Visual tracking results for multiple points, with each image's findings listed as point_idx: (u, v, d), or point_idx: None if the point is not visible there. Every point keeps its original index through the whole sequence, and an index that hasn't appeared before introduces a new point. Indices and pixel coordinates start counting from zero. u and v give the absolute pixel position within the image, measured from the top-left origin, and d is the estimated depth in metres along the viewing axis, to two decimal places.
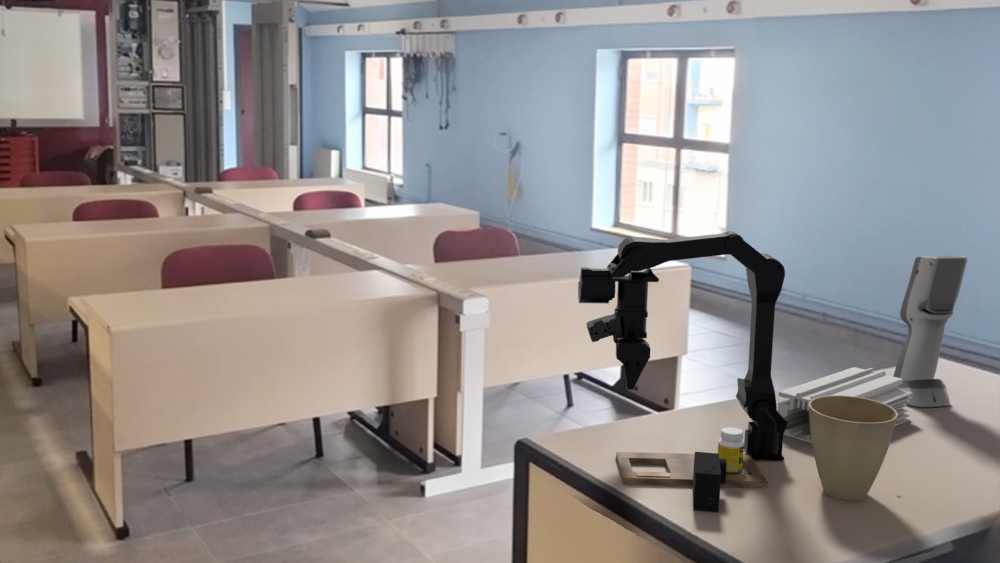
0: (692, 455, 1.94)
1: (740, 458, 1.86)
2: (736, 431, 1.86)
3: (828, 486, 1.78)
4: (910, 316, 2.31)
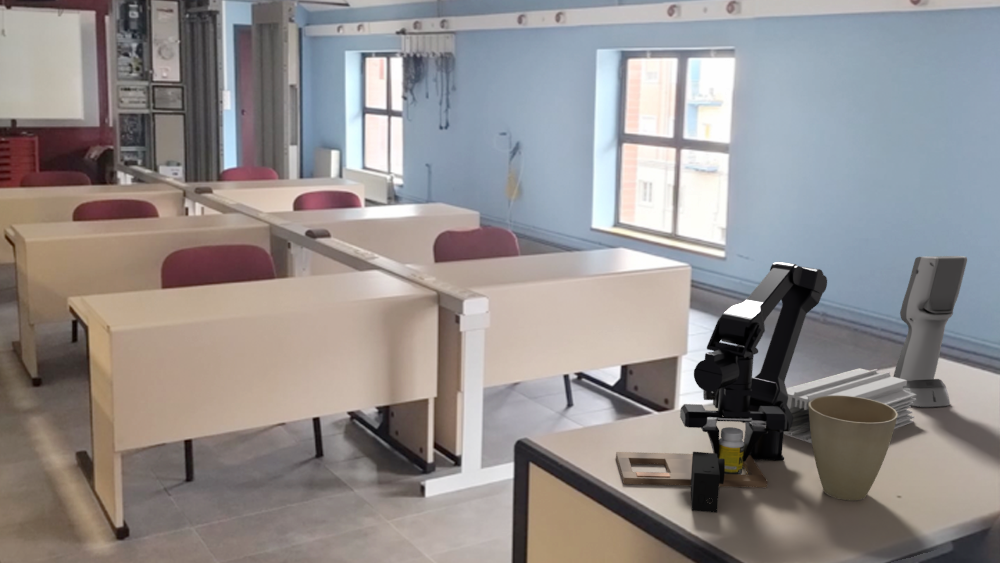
0: (692, 455, 1.94)
1: (740, 458, 1.86)
2: (736, 431, 1.86)
3: (828, 486, 1.78)
4: (910, 316, 2.31)
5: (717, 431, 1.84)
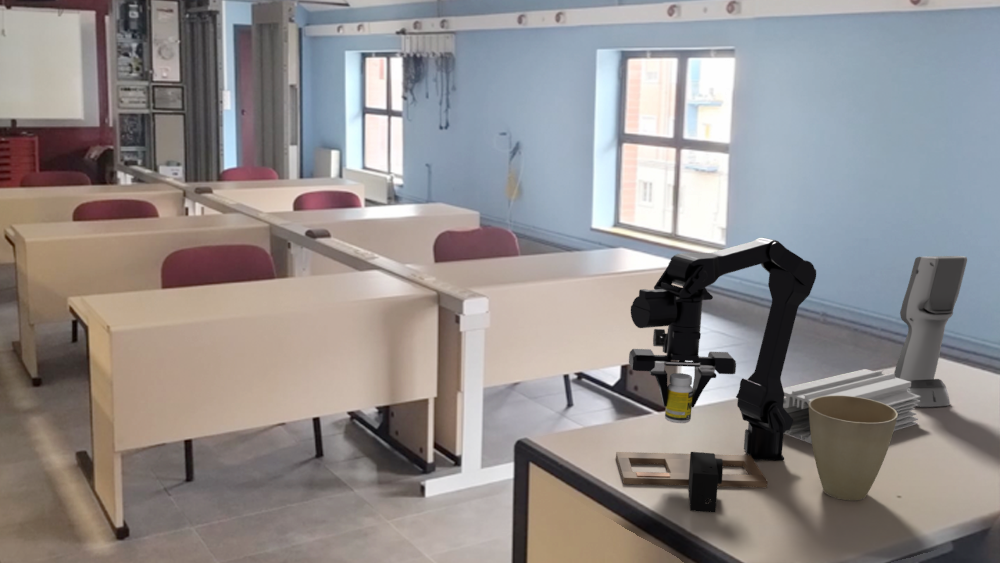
0: None
1: (688, 404, 1.83)
2: (684, 376, 1.84)
3: (828, 486, 1.78)
4: (910, 316, 2.31)
5: (665, 375, 1.81)
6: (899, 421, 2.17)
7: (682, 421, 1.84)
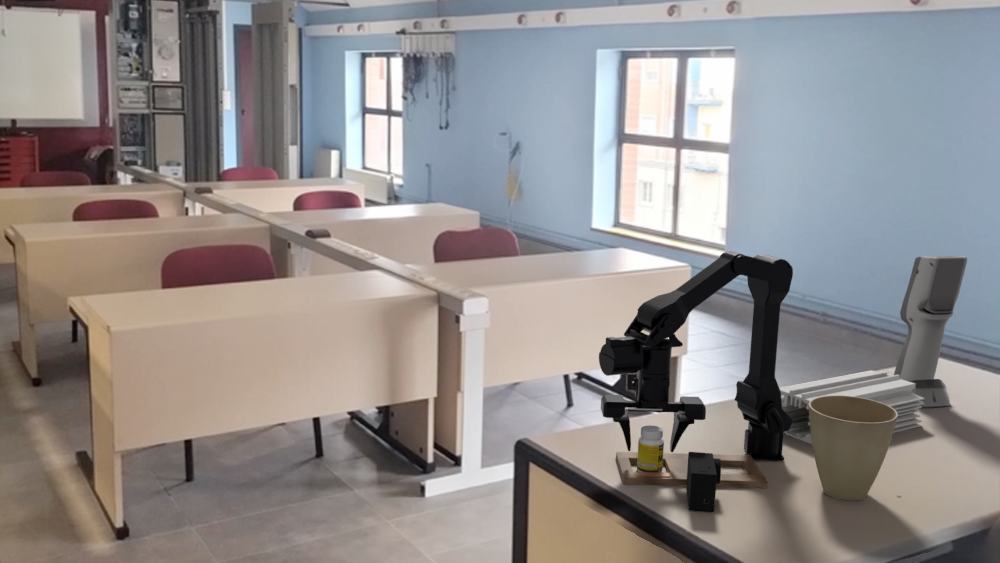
0: None
1: (659, 457, 1.86)
2: (655, 429, 1.86)
3: (828, 486, 1.78)
4: (910, 316, 2.31)
5: (627, 421, 1.83)
6: (902, 423, 2.16)
7: None
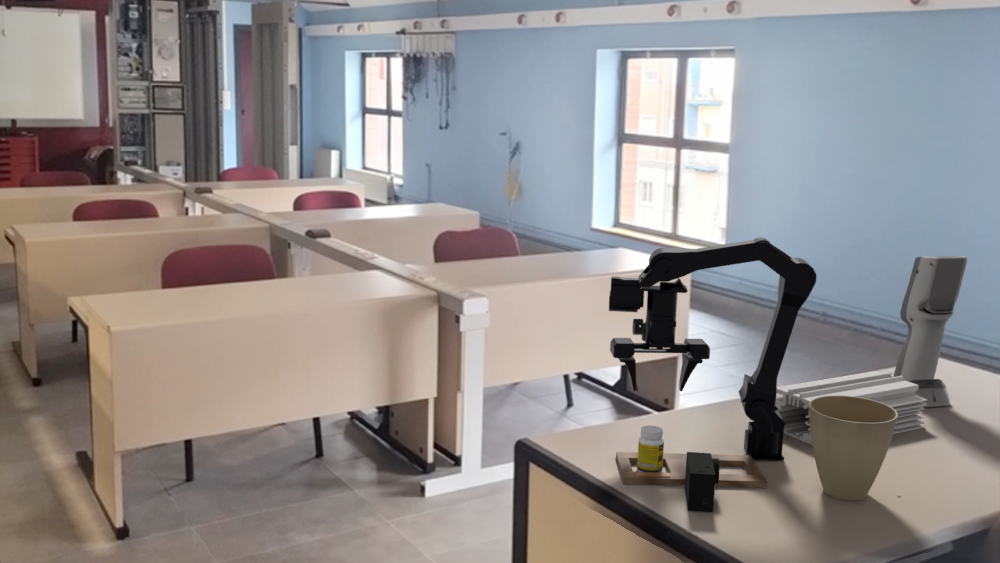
0: None
1: (659, 457, 1.86)
2: (655, 429, 1.86)
3: (828, 486, 1.78)
4: (910, 316, 2.31)
5: (633, 361, 1.94)
6: (903, 424, 2.15)
7: None
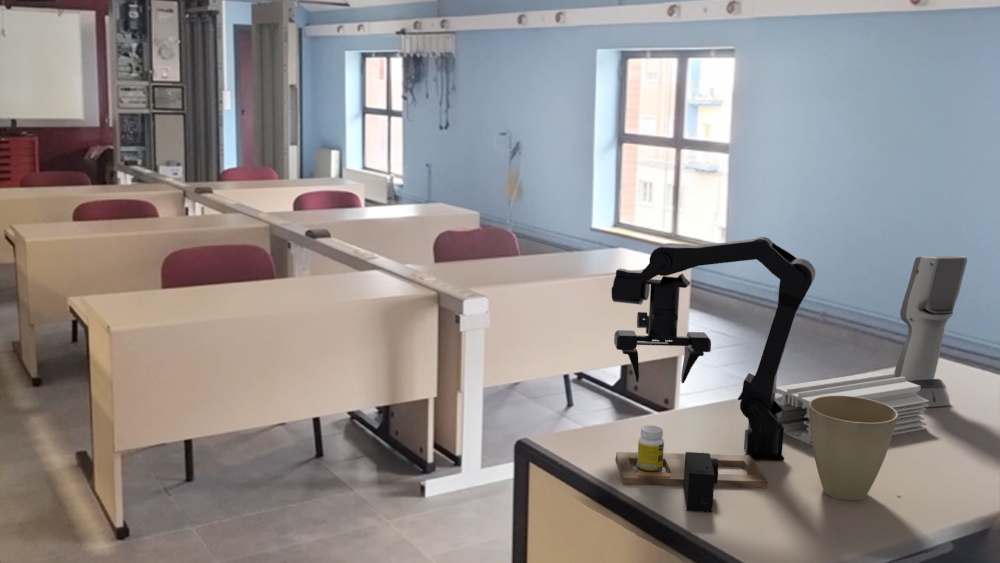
0: None
1: (659, 457, 1.86)
2: (655, 429, 1.86)
3: (828, 486, 1.78)
4: (910, 316, 2.31)
5: (636, 353, 1.99)
6: (904, 425, 2.14)
7: None
